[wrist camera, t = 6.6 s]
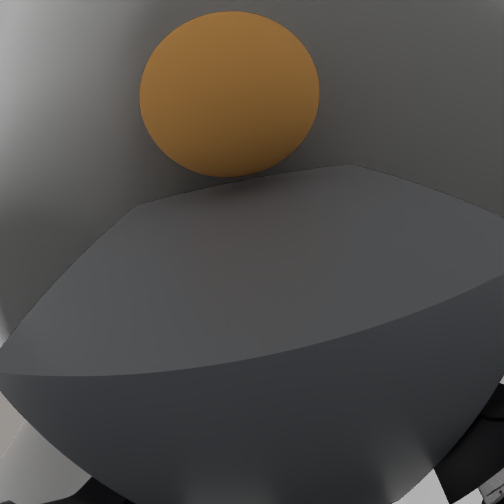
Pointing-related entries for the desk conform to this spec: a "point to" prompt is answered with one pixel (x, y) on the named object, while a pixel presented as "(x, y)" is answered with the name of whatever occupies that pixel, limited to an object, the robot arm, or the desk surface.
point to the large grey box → (269, 341)
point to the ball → (229, 94)
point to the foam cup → (37, 470)
